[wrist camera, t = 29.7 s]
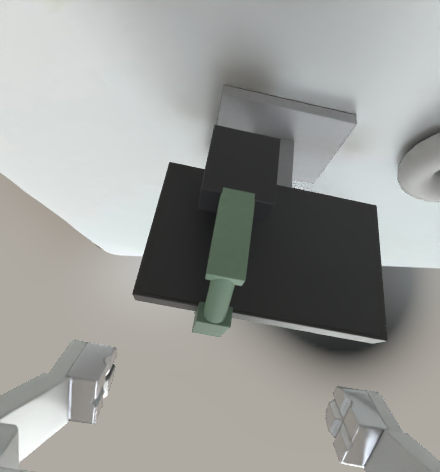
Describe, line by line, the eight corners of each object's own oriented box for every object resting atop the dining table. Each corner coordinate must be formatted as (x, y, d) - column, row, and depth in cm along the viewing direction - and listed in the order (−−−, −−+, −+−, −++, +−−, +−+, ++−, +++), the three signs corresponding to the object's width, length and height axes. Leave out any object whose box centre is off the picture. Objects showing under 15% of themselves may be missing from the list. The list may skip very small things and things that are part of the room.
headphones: (214, 124, 23) (175, 306, 17) (281, 138, 24) (264, 322, 18) (201, 209, 35) (175, 334, 29) (245, 218, 36) (228, 344, 29)
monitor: (186, 76, 28) (126, 282, 20) (391, 122, 30) (417, 336, 21) (183, 148, 37) (140, 311, 29) (340, 182, 39) (344, 348, 30)
